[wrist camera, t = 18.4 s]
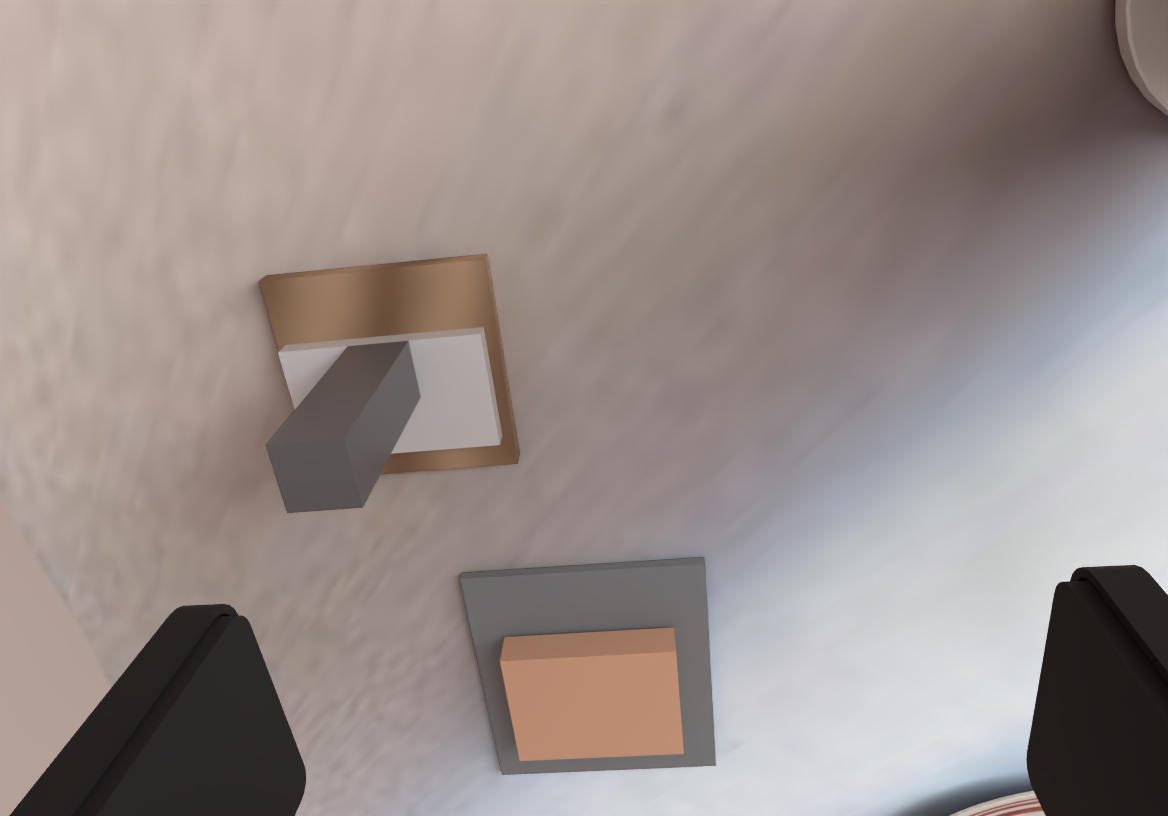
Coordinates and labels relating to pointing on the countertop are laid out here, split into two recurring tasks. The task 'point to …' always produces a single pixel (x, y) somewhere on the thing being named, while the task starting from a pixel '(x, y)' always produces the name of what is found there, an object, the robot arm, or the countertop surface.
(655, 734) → the block
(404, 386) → the white base with post
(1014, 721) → the countertop surface
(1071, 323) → the countertop surface
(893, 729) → the countertop surface
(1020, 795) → the dinner plate
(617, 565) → the mat
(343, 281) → the board
